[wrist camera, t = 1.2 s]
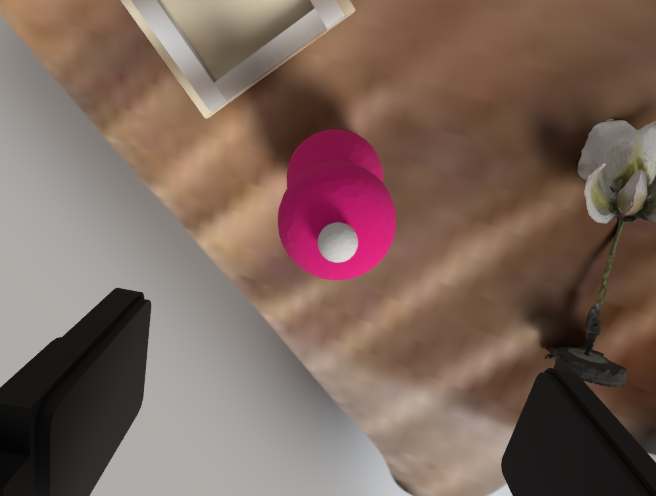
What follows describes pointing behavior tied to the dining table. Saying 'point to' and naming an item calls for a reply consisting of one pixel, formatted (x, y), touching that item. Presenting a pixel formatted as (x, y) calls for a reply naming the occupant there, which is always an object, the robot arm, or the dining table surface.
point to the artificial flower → (604, 204)
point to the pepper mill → (336, 207)
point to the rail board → (231, 40)
